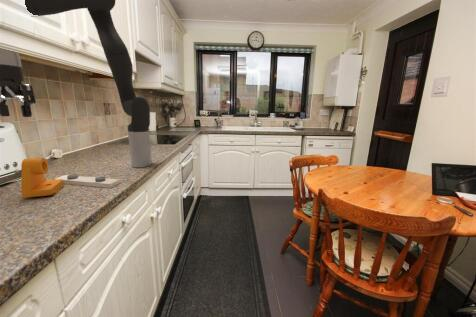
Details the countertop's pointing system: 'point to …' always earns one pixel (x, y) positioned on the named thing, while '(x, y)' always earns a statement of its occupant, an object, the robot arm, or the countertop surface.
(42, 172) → the bracket
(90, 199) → the countertop surface
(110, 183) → the board
